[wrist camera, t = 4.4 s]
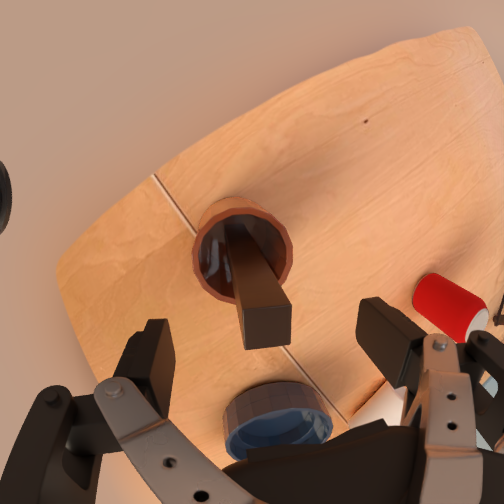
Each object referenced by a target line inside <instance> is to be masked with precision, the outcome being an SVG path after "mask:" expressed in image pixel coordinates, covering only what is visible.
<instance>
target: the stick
mask: <svg viewBox="0 0 504 504" xmlns="http://www.w3.org/2000/svg"><path fill="white" fill-rule="evenodd" d="M224 227H225V243H226V250H227V256H228V261H229V267H230V273H231V279H232V285H233V290H234V296H235V301H236V307H237V312H238V318H239V323H240V329H241V334H242V339H243V345H244V349H245V350H251V349H260V348H269V347H277V346H284V345H290V343H291V317H292V305H291V303H290V301H289V299H288V298H287V296H286V294H285V293H284V291H283V289H282V287H281V286H280V284H279V282H278V281H277V279H276V277H275V275H274V274H273V272H272V270H271V269H270V267H269V265H268V264H267V262H266V260H265V258H264V257H263V255H262V253H261V252H260V250H259V248H258V247H257V245H256V243H255V241H254V240H253V238H252V236H251V235H250V233H249V231H248V230H247V228H246V226H245V225H244V224H232V225H224Z"/></svg>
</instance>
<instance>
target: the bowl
mask: <svg viewBox="0 0 504 504" xmlns="http://www.w3.org/2000/svg"><path fill="white" fill-rule="evenodd" d="M223 427H224V439H225V447H226V451H227V453H228V454H229V455H230V456H231V457H232V458H233V459H234V460H237V461H240V460H243V459H246V458H247V454H246V449H251V448H259V447H267V446H274V445H280V444H322V443H325V442H326V441H327V439H328V438H329V437H330V435H331V433H332V429H333V423H332V420H331V417H330V415H329V413H328V411H327V409H326V407H325V405H324V403H323V401H322V399H321V396H320V395H319V393H317V392H316V391H315V390H314V389H313V388H312V387H309V386H307V385H304V384H301V383H295V382H277V383H270V384H264V385H261V386H259V387H256V388H253V389H250V390H248V391H246V392H245V393H243V394H241V395H240V396H238V397H236V398H235V399H234V400H233V401H232V402H231V403H230V404H229V405H228V407H227V408H226V410H225V413H224V415H223Z"/></svg>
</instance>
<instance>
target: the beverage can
mask: <svg viewBox="0 0 504 504" xmlns="http://www.w3.org/2000/svg"><path fill="white" fill-rule="evenodd" d="M412 304H413V307H414V308H415V310H416V311H417V312H419V313H420V314H421V315H422V316H424V317H425V318H426V319H428V320H429V321H430V322H431V323H433V324H434V325H435V326H437V327H438V328H439V329H440V330H442V331H443V332H444V333H445V334H447V335H448V336H449V337H450V338H452V339H453V340H454V341H455V342H457V343H466V342H467V339H468V336H469V334H470V332H472V331H474V330H483V331H484V329H485V327H486V325H487V322H488V317H489V312H488V309H487V307H486V304H485V302H484V301H483V300H482V299H481V298H479V297H477V296H476V295H474V294H472V293H471V292H469V291H467V290H465V289H464V288H462V287H460V286H458V285H457V284H455V283H453V282H451V281H449V280H448V279H446V278H444V277H442V276H440V275H438V274H436V273H432V274H428V275H426V276H424V277H423V278H422V279H421V280H420V281H419V282H418V284H417V285H416V287H415V289H414V292H413V295H412Z"/></svg>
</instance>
